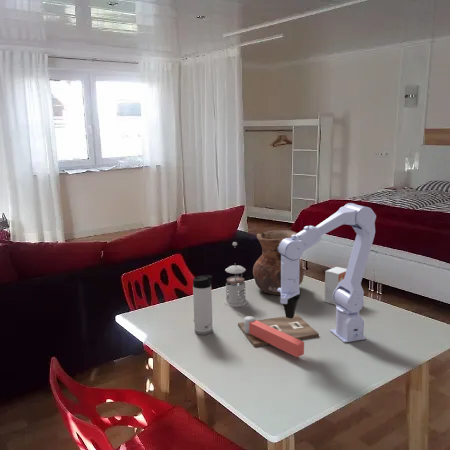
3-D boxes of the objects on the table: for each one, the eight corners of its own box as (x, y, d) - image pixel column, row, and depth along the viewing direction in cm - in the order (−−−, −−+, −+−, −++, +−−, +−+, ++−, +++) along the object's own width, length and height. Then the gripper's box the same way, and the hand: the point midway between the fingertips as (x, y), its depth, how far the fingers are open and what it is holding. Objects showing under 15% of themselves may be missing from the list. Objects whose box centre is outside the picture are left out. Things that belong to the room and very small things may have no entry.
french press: (220, 305, 182) (219, 244, 177) (229, 295, 193) (227, 237, 188) (244, 307, 179) (243, 245, 174) (251, 297, 190) (251, 238, 185)
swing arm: (296, 357, 137) (296, 343, 136) (242, 330, 156) (242, 318, 155) (304, 353, 139) (304, 340, 138) (250, 327, 158) (249, 315, 157)
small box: (337, 305, 179) (338, 274, 176) (324, 301, 184) (324, 270, 181) (348, 300, 185) (350, 269, 182) (335, 296, 189) (336, 266, 186)
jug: (242, 290, 199) (241, 234, 194) (273, 278, 213) (273, 225, 208) (283, 302, 183) (283, 242, 178) (313, 289, 198) (314, 232, 193)
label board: (318, 336, 153) (318, 333, 153) (253, 346, 147) (253, 343, 147) (297, 317, 169) (297, 314, 169) (237, 325, 163) (237, 322, 163)
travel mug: (211, 335, 156) (209, 279, 152) (192, 334, 157) (190, 278, 153) (215, 327, 162) (213, 273, 158) (197, 326, 163) (195, 272, 159)
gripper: (284, 268, 152) (284, 307, 154) (270, 282, 139) (270, 324, 141) (305, 270, 149) (304, 310, 152) (293, 285, 136) (293, 327, 139)
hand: (289, 317), depth 146 cm, fingers closed
